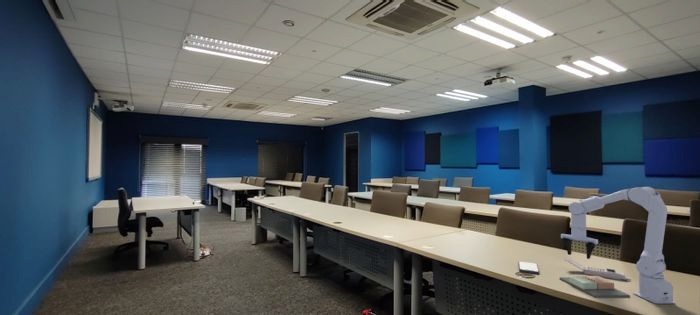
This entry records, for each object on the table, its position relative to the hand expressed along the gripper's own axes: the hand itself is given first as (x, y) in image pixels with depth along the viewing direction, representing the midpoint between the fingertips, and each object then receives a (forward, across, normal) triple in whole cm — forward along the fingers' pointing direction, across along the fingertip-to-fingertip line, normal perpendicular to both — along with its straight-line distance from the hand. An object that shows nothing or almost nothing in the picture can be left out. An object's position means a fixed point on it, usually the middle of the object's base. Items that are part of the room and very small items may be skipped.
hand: (578, 256), depth 148 cm
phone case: (+10, +20, +7) cm, 23 cm away
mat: (+10, -8, +10) cm, 16 cm away
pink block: (+10, -10, +8) cm, 16 cm away
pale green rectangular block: (+10, -6, +13) cm, 18 cm away
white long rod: (+10, -3, -11) cm, 16 cm away
